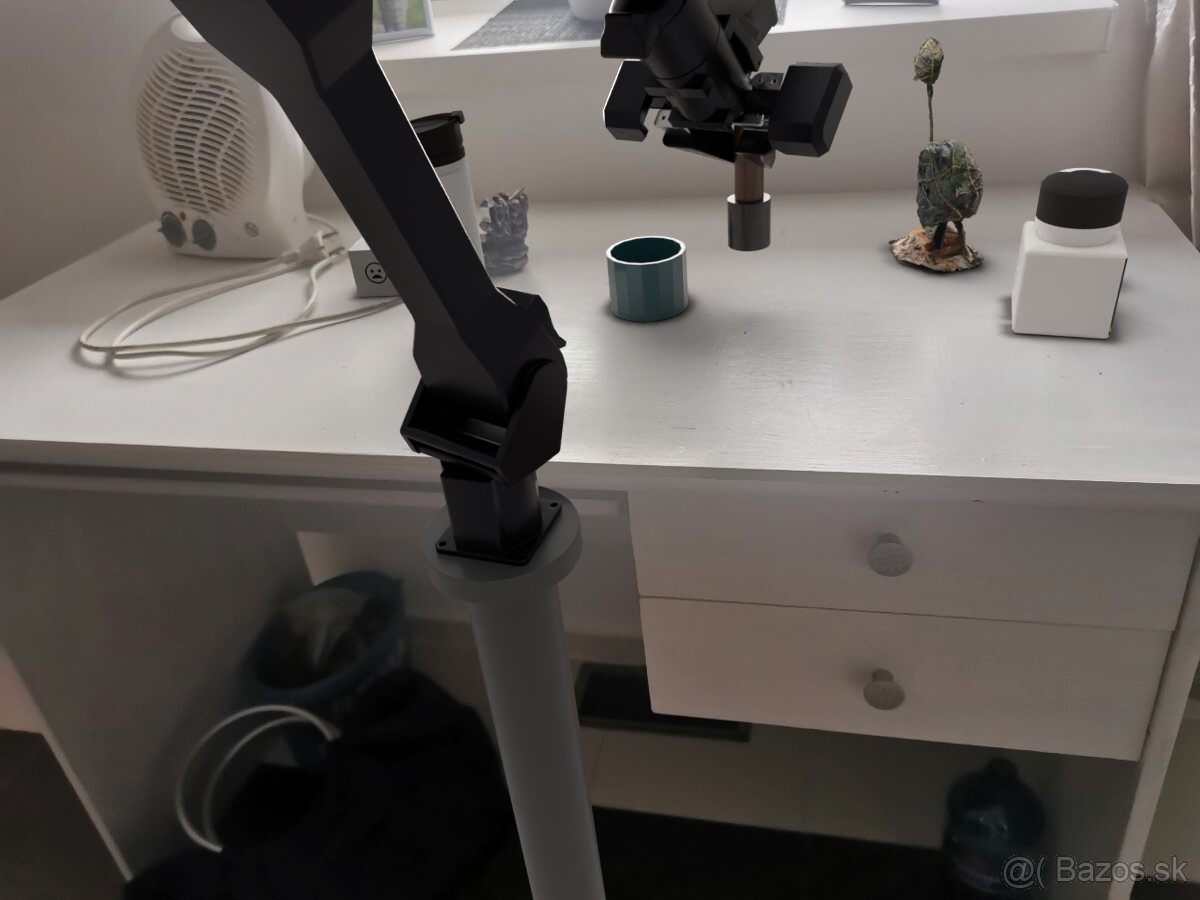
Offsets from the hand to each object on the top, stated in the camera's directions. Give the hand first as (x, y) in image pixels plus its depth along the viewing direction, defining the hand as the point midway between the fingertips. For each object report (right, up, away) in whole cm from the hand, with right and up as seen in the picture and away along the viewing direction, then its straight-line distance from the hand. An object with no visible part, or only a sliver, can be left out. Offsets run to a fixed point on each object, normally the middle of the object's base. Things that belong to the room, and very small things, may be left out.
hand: (757, 162), depth 75 cm
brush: (0, -6, +3) cm, 7 cm away
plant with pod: (+20, -5, +14) cm, 25 cm away
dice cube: (-35, -7, +21) cm, 42 cm away
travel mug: (-25, -15, +7) cm, 30 cm away
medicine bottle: (+25, -13, +1) cm, 28 cm away
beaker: (-8, -10, +11) cm, 17 cm away
